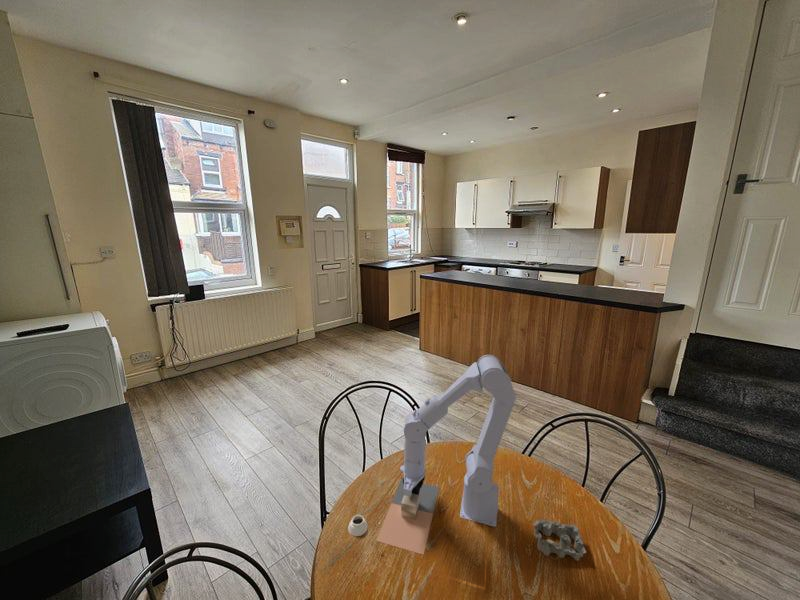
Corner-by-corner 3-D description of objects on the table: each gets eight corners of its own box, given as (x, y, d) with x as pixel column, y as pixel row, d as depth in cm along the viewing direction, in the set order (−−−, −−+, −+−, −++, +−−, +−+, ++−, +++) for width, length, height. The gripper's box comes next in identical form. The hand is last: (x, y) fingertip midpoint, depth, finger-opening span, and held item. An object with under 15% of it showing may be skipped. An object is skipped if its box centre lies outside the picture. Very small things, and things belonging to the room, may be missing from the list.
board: (439, 488, 97) (439, 486, 96) (423, 556, 76) (423, 554, 76) (401, 479, 100) (401, 478, 100) (376, 542, 79) (376, 540, 79)
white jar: (357, 517, 86) (344, 531, 82) (357, 508, 86) (343, 521, 82) (371, 527, 84) (358, 541, 79) (371, 517, 83) (358, 531, 79)
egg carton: (537, 555, 77) (538, 541, 76) (531, 528, 84) (533, 514, 83) (586, 565, 74) (588, 550, 74) (576, 536, 82) (578, 522, 81)
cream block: (419, 507, 89) (419, 495, 88) (415, 519, 85) (415, 506, 84) (405, 503, 90) (405, 491, 89) (401, 515, 86) (401, 503, 86)
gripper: (407, 438, 96) (407, 477, 98) (392, 470, 82) (392, 516, 85) (430, 442, 94) (429, 482, 96) (419, 477, 80) (418, 523, 83)
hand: (413, 498), depth 91 cm, fingers closed
